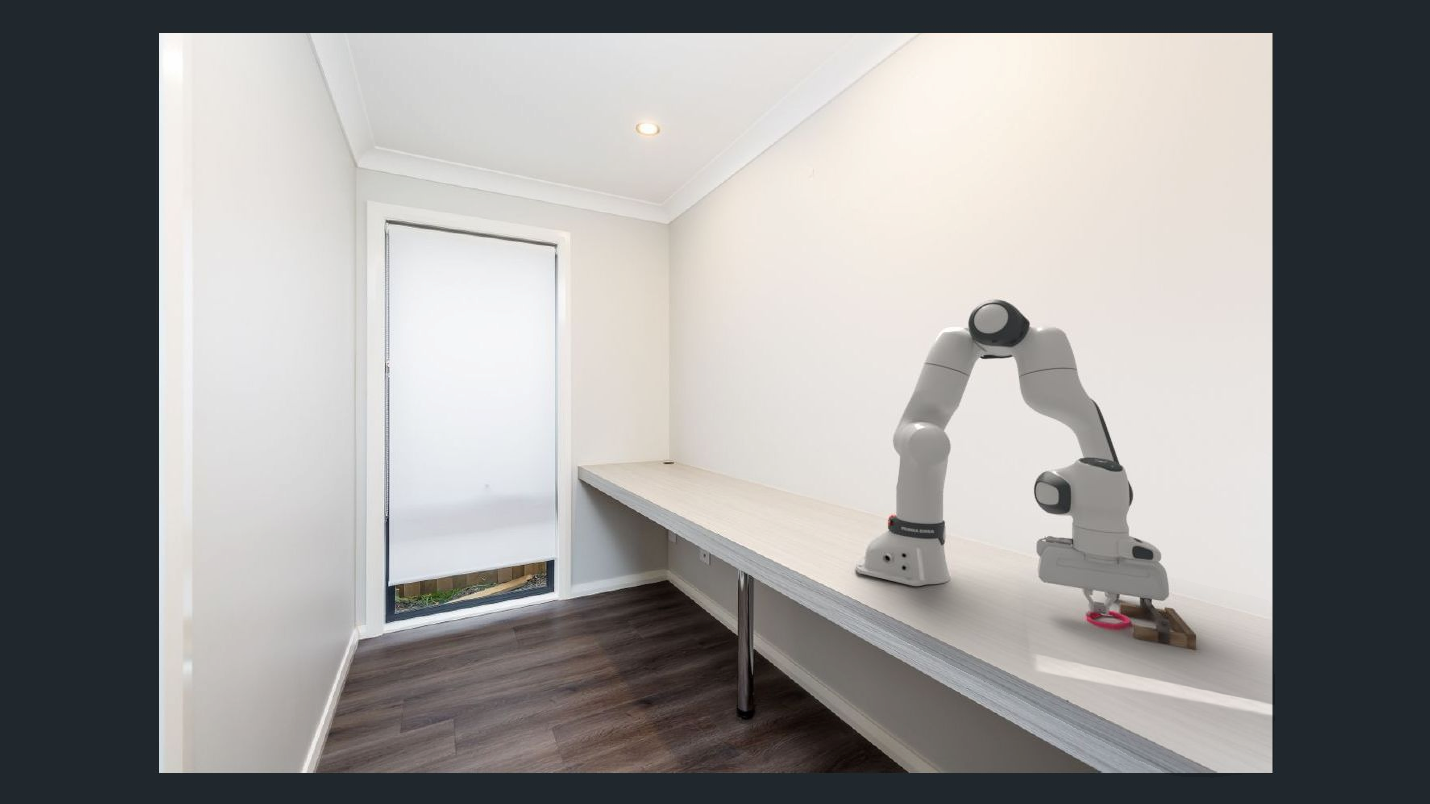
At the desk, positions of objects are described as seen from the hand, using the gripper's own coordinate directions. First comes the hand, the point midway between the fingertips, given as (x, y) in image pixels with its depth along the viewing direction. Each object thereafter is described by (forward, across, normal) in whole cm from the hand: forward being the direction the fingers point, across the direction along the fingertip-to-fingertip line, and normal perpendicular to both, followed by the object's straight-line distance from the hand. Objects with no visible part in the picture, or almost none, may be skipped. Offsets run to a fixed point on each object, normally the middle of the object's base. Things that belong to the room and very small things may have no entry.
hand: (1098, 612), depth 98 cm
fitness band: (+2, +2, 0) cm, 3 cm away
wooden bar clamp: (+1, +8, 0) cm, 8 cm away
